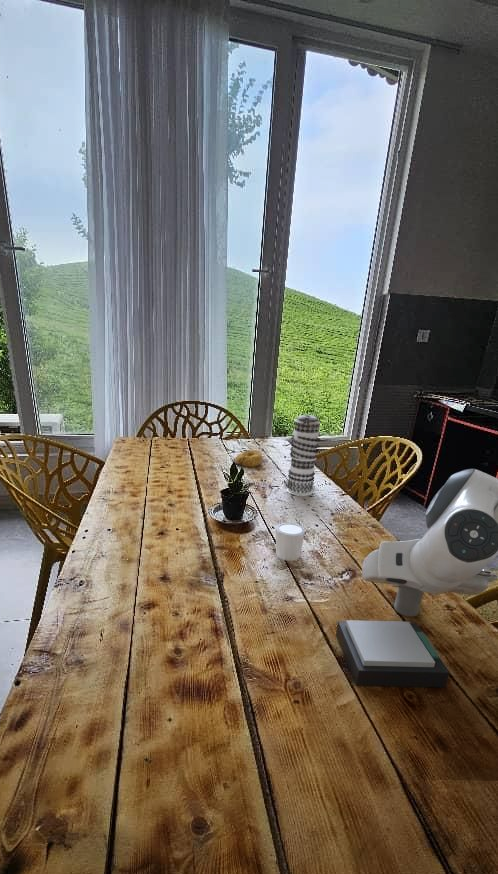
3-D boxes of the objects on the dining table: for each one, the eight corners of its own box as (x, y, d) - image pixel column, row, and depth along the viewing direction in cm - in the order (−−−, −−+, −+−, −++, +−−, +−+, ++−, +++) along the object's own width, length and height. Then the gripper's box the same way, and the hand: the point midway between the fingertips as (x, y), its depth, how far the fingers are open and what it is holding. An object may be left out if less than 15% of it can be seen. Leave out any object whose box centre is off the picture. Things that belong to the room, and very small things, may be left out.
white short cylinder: (304, 562, 103) (307, 535, 100) (274, 561, 103) (277, 534, 100) (299, 548, 109) (302, 523, 107) (272, 547, 109) (274, 521, 107)
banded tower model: (319, 493, 146) (329, 417, 137) (299, 498, 141) (308, 420, 132) (300, 484, 153) (308, 412, 144) (279, 489, 148) (287, 414, 139)
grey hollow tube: (399, 600, 90) (410, 555, 86) (422, 610, 87) (433, 564, 83) (389, 609, 87) (399, 563, 83) (412, 620, 84) (424, 573, 80)
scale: (412, 636, 80) (417, 618, 78) (445, 687, 69) (451, 667, 67) (335, 634, 79) (338, 616, 78) (355, 685, 68) (360, 665, 67)
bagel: (232, 460, 178) (232, 448, 176) (259, 460, 179) (260, 448, 177) (235, 467, 169) (236, 455, 167) (264, 467, 170) (265, 455, 168)
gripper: (501, 555, 73) (467, 576, 85) (371, 540, 76) (357, 562, 89) (504, 593, 70) (469, 609, 83) (370, 576, 74) (356, 593, 86)
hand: (410, 584), depth 86 cm, fingers closed on grey hollow tube, 4 cm apart
